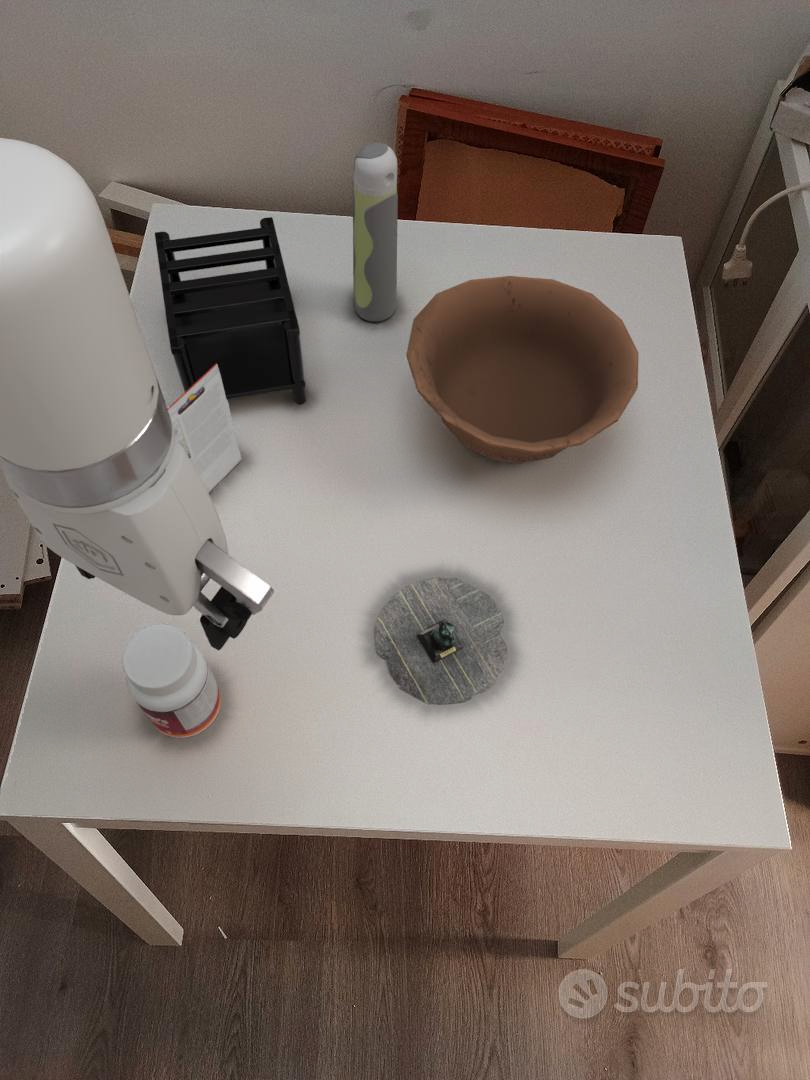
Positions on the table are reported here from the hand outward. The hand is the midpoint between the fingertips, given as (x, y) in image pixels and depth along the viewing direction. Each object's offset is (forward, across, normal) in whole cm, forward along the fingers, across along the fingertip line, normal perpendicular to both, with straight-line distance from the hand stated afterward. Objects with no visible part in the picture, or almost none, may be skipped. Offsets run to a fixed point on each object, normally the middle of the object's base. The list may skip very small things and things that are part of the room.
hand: (165, 593), depth 52 cm
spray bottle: (+22, -11, +47) cm, 53 cm away
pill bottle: (+22, -3, -1) cm, 22 cm away
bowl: (+22, +9, +40) cm, 46 cm away
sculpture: (+22, +14, +15) cm, 30 cm away
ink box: (+22, -15, +18) cm, 32 cm away
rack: (+22, -21, +34) cm, 45 cm away
